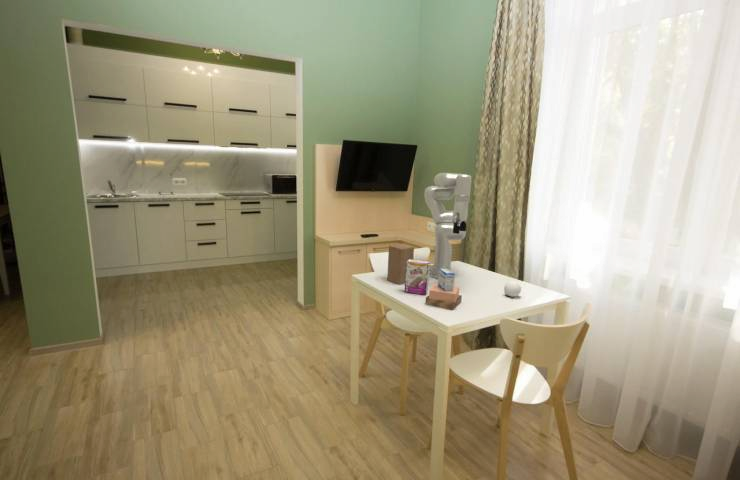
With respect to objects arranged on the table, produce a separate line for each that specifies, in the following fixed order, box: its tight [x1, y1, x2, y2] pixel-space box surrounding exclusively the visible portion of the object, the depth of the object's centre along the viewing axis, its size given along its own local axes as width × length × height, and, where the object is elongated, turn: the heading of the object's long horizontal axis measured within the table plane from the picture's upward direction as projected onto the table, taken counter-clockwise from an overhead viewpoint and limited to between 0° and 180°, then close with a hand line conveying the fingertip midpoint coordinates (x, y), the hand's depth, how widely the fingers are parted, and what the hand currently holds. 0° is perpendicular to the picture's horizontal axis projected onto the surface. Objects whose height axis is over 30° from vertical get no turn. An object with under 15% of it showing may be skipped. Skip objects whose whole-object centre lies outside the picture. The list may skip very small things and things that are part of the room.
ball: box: [503, 280, 522, 298], centre depth 191 cm, size 8×8×8 cm
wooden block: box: [386, 243, 415, 285], centre depth 208 cm, size 10×10×20 cm
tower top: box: [428, 282, 460, 302], centre depth 177 cm, size 12×12×4 cm
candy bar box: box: [404, 259, 431, 296], centre depth 190 cm, size 11×5×16 cm, turn 71°
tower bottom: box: [425, 294, 463, 311], centre depth 178 cm, size 13×13×4 cm
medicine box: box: [437, 269, 456, 291], centre depth 176 cm, size 8×4×9 cm, turn 14°
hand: (459, 232), depth 196 cm, fingers open, 9 cm apart
